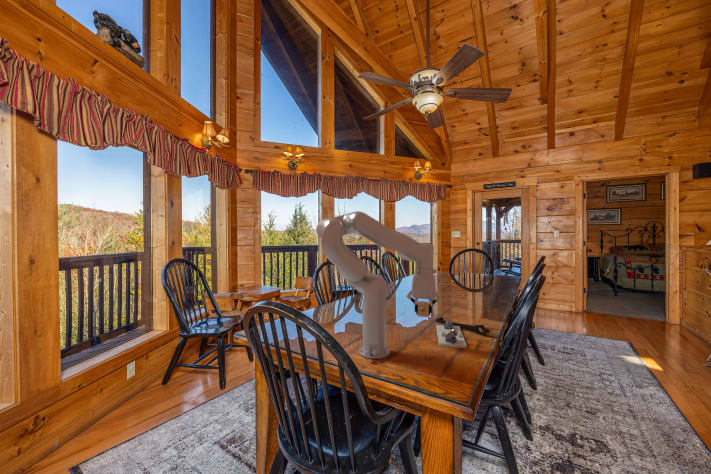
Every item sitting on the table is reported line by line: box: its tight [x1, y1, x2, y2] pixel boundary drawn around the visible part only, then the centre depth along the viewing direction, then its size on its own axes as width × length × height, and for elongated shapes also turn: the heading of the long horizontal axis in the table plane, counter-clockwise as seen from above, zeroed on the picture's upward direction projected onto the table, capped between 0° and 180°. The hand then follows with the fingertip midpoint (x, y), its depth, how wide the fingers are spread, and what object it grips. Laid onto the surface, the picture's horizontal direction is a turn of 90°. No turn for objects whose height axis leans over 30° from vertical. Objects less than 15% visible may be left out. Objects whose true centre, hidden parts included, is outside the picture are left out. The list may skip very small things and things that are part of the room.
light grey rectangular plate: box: [435, 324, 467, 349], centre depth 133 cm, size 24×11×2 cm, turn 167°
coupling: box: [417, 300, 430, 318], centre depth 125 cm, size 7×4×6 cm, turn 167°
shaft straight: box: [443, 317, 453, 329], centre depth 141 cm, size 8×4×5 cm, turn 167°
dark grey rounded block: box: [445, 329, 458, 344], centre depth 124 cm, size 6×4×5 cm, turn 137°
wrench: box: [435, 316, 491, 337], centre depth 145 cm, size 5×5×30 cm
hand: (423, 313), depth 125 cm, fingers closed on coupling, 4 cm apart
